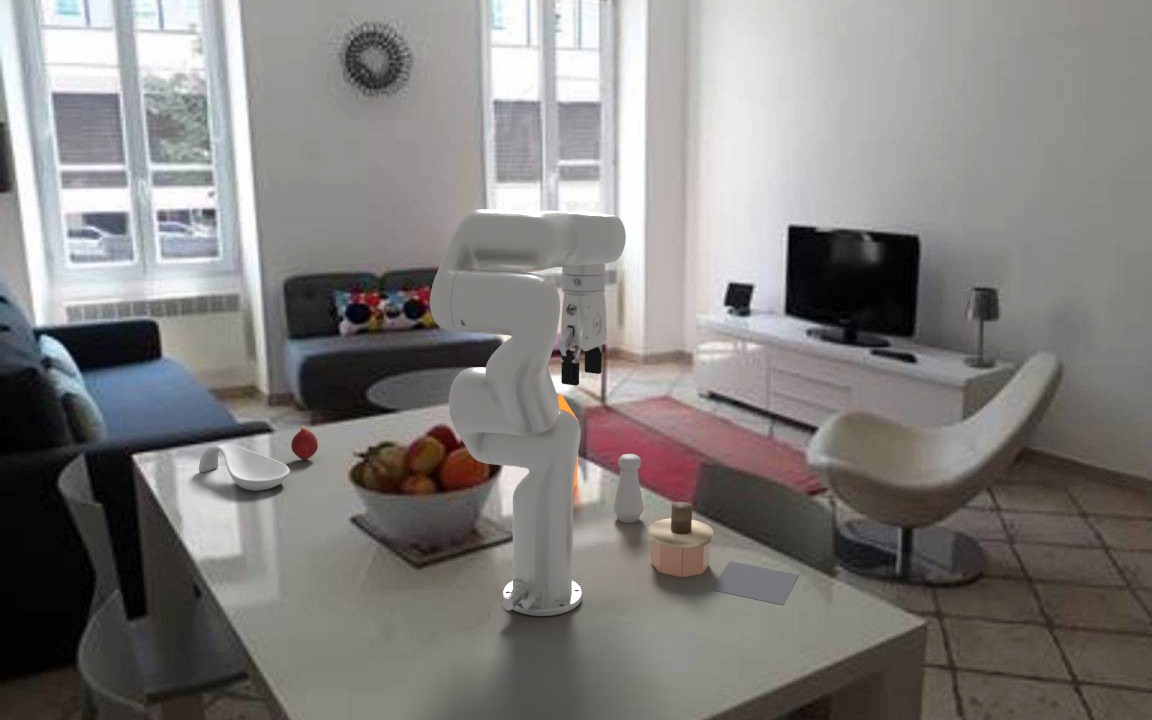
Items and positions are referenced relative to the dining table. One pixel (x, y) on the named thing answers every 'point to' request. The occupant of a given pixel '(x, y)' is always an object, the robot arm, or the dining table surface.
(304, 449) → the onion
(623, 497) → the salt shaker
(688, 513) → the lid
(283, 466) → the spoon rest
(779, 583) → the mat
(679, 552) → the bowl
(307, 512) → the dining table surface
